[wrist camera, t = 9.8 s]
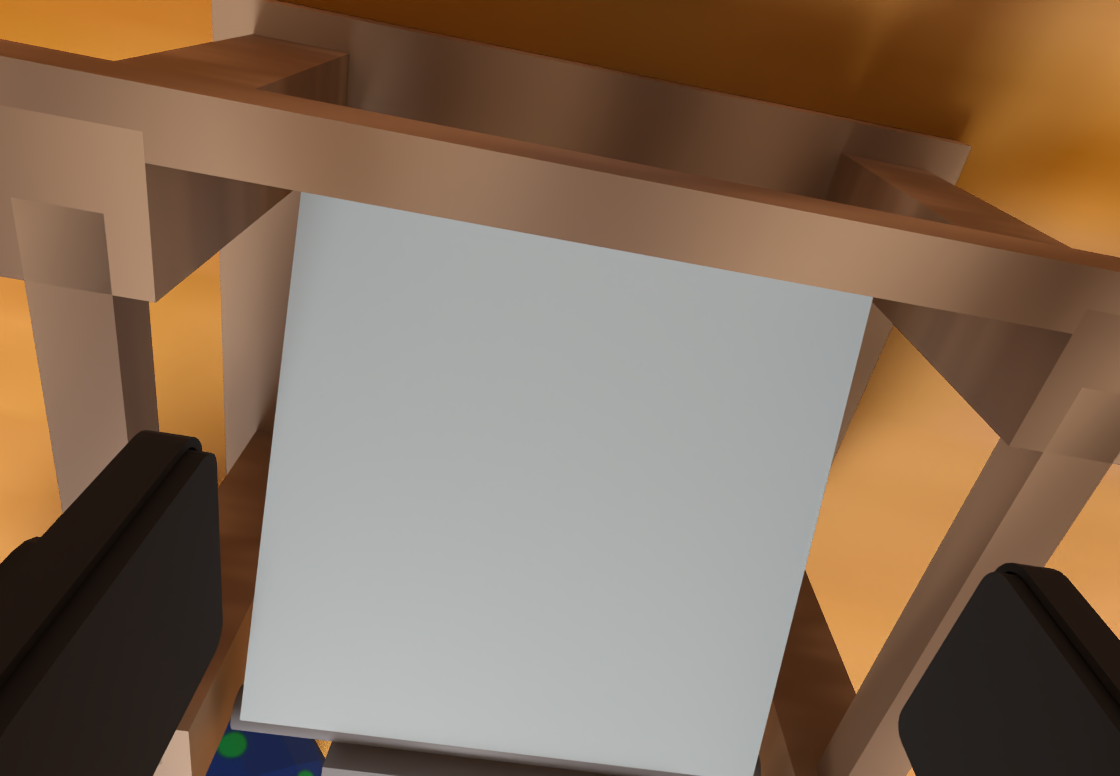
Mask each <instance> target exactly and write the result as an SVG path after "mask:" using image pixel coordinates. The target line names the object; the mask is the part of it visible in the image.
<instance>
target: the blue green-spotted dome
mask: <svg viewBox="0 0 1120 776" xmlns="http://www.w3.org/2000/svg"><path fill="white" fill-rule="evenodd" d="M230 722H231V719H230V721H229V723H228V725H227V728H226V730H225V732H224V735H223V737H222V739H221V741H220V744H219V746H218V748H217V750H216V753H215V755H214V757H213V759H212V762H211V764H210V766H209V768H208V771H207V773H206V775H205V776H321V775H322V767H323V765H324V762H325V758H324V756H323V754H322V752H321V750H320V748H319V747H318V745H317V743H316V741H315V739H309V738H301V737H292V736H284V735H276V734H267V733H259V732H251V731H242V730H234V729H231V725H230Z"/></svg>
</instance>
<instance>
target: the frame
mask: <svg viewBox="0 0 1120 776" xmlns="http://www.w3.org/2000/svg"><path fill="white" fill-rule="evenodd" d="M212 25H213V42H209V43H204V44H199V45H194V46H189V47H184V48H179V49H174V50H169V51H164V52H159V53H154V54H149V55H144V56H139V57H133V58H128V59H123V60H118V61H110V60H105V59H100V58H94V57H89V56H84V55H79V54H74V53H69V52H64V51H59V50H54V49H48V48H43V47H38V46H33V45H28V44H23V43H18V42H13V41H7V40H2V39H0V276H1V277H7V278H13V279H19V280H24V281H25V287H26V293H27V299H28V305H29V311H30V317H31V323H32V330H33V336H34V342H35V348H36V354H37V360H38V366H39V372H40V378H41V384H42V390H43V396H44V402H45V408H46V414H47V420H48V426H49V432H50V438H51V445H52V451H53V457H54V463H55V469H56V475H57V481H58V487H59V493H60V499H61V505H62V511H63V513H64V512H65V511H66V510H67V508H68V507H69V506H70V505H71V504H72V503H73V502H74V501H75V500H76V499H77V498H78V497H79V495H80V494H81V493H82V492H83V491H84V490H85V489H86V488H87V487H88V486H89V485H90V484H91V482H92V481H93V480H94V479H95V478H96V477H97V476H98V475H99V474H100V473H101V472H102V470H103V469H104V468H105V467H106V466H107V465H108V464H109V463H110V462H111V461H112V460H113V459H114V457H115V456H116V455H117V454H118V453H119V452H120V451H121V450H122V449H123V448H124V447H125V445H126V444H127V443H128V442H129V441H130V440H131V439H132V438H133V437H134V436H135V435H136V434H137V433H139V432H140V431H143V430H150V431H157V432H159V423H158V411H157V399H156V387H155V374H154V362H153V350H152V337H151V325H150V313H149V302H155V303H156V302H157V301H158V300H159V299H160V298H162V297H163V296H164V295H165V294H167V293H168V292H169V291H170V290H172V289H173V288H174V287H175V286H176V285H178V284H179V283H180V282H181V281H183V280H184V279H185V278H186V277H188V276H189V275H190V274H191V273H192V272H194V271H195V270H196V269H197V268H199V267H200V266H201V265H202V264H204V263H205V262H206V261H207V260H208V259H210V258H211V257H212V256H213V255H215V254H216V253H217V252H218V251H219V250H220V282H221V314H222V346H223V378H224V410H225V442H226V474H227V476H226V477H225V479H224V480H223V482H222V483H221V485H220V486H219V488H218V505H219V531H220V557H221V583H222V609H223V627H222V633H221V637H220V641H219V644H218V647H217V650H216V652H215V654H214V656H213V658H212V660H211V662H210V664H209V666H208V668H207V670H206V672H205V674H204V676H203V678H202V680H201V682H200V684H199V686H198V688H197V690H196V692H195V694H194V696H193V698H192V700H191V702H190V704H189V706H188V708H187V710H186V712H185V713H184V715H183V717H182V719H181V721H180V723H179V725H178V727H177V729H176V731H175V733H174V735H173V737H172V739H171V741H170V743H169V745H168V747H167V749H166V751H165V753H164V755H163V757H162V759H161V761H160V763H159V765H158V767H157V769H156V771H155V773H154V775H153V776H205V775H206V773H207V771H208V768H209V766H210V764H211V762H212V759H213V757H214V755H215V753H216V750H217V748H218V746H219V744H220V741H221V739H222V737H223V735H224V732H225V730H226V728H227V725H228V723H229V721H230V719H231V714H232V709H233V705H234V702H235V699H236V696H237V693H238V691H239V689H240V687H241V686H242V684H243V683H244V680H245V671H246V663H247V654H248V645H249V637H250V628H251V620H252V611H253V602H254V594H255V585H256V576H257V568H258V559H259V551H260V542H261V533H262V525H263V516H264V507H265V499H266V490H267V482H268V473H269V464H270V456H271V447H272V438H273V430H274V421H275V413H276V404H277V395H278V387H279V378H280V369H281V361H282V352H283V344H284V335H285V326H286V318H287V309H288V300H289V292H290V283H291V275H292V266H293V257H294V249H295V240H296V231H297V223H298V214H299V206H300V197H301V192H305V193H311V194H316V195H321V196H327V197H332V198H338V199H343V200H349V201H354V202H359V203H365V204H370V205H376V206H381V207H387V208H392V209H397V210H403V211H408V212H414V213H419V214H425V215H430V216H435V217H441V218H446V219H452V220H457V221H463V222H468V223H473V224H479V225H484V226H490V227H495V228H500V229H506V230H511V231H517V232H522V233H528V234H533V235H538V236H544V237H549V238H555V239H560V240H566V241H571V242H576V243H582V244H587V245H593V246H598V247H604V248H609V249H614V250H620V251H625V252H631V253H636V254H642V255H647V256H652V257H658V258H663V259H669V260H674V261H680V262H685V263H690V264H696V265H701V266H707V267H712V268H718V269H723V270H728V271H734V272H739V273H745V274H750V275H756V276H761V277H766V278H772V279H777V280H783V281H788V282H794V283H799V284H804V285H810V286H815V287H821V288H826V289H832V290H837V291H842V292H848V293H853V294H859V295H864V296H870V297H873V300H872V304H871V308H870V312H869V316H868V320H867V324H866V328H865V332H864V336H863V340H862V344H861V348H860V352H859V356H858V360H857V364H856V368H855V371H854V375H853V379H852V383H851V387H850V391H849V395H848V399H847V403H846V407H845V411H844V415H843V419H842V423H841V427H840V431H839V435H838V439H837V443H836V447H835V451H834V455H833V459H832V463H833V460H834V458H835V456H836V454H837V451H838V449H839V447H840V444H841V442H842V440H843V438H844V435H845V433H846V431H847V429H848V426H849V424H850V422H851V420H852V417H853V415H854V413H855V411H856V408H857V406H858V404H859V402H860V399H861V397H862V395H863V392H864V390H865V388H866V386H867V383H868V381H869V379H870V377H871V374H872V372H873V370H874V368H875V365H876V363H877V361H878V359H879V356H880V354H881V352H882V349H883V347H884V345H885V343H886V340H887V338H888V336H889V334H890V331H891V329H892V327H893V325H894V326H895V327H896V328H897V329H898V330H899V331H900V332H901V333H902V334H903V335H904V336H905V337H906V338H907V339H908V340H909V341H910V342H911V344H912V345H913V346H914V347H915V348H916V349H917V350H918V351H919V352H920V353H921V354H922V355H923V356H924V357H925V358H926V359H927V360H928V361H929V362H930V364H931V365H932V366H933V367H934V368H935V369H936V370H937V371H938V372H939V373H940V374H941V375H942V376H943V377H944V378H945V379H946V380H947V381H948V383H949V384H950V385H951V386H952V387H953V388H954V389H955V390H956V391H957V392H958V393H959V394H960V395H961V396H962V397H963V398H964V399H965V400H966V401H967V403H968V404H969V405H970V406H971V407H972V408H973V409H974V410H975V411H976V412H977V413H978V414H979V415H980V416H981V417H982V418H983V419H984V420H985V422H986V423H987V424H988V425H989V426H990V427H991V428H992V429H993V430H994V431H995V432H996V433H997V434H998V435H999V436H1000V437H1001V438H1000V440H999V441H998V443H997V445H996V447H995V448H994V450H993V452H992V454H991V456H990V457H989V459H988V461H987V463H986V464H985V466H984V468H983V470H982V472H981V473H980V475H979V477H978V479H977V480H976V482H975V484H974V486H973V488H972V489H971V491H970V493H969V495H968V496H967V498H966V500H965V502H964V504H963V505H962V507H961V509H960V511H959V512H958V514H957V516H956V518H955V520H954V521H953V523H952V525H951V527H950V528H949V530H948V532H947V534H946V536H945V537H944V539H943V541H942V543H941V544H940V546H939V548H938V550H937V552H936V553H935V555H934V557H933V559H932V560H931V562H930V564H929V566H928V568H927V569H926V571H925V573H924V575H923V576H922V578H921V580H920V582H919V584H918V585H917V587H916V589H915V591H914V592H913V594H912V596H911V598H910V600H909V601H908V603H907V605H906V607H905V608H904V610H903V612H902V614H901V616H900V617H899V619H898V621H897V623H896V624H895V626H894V628H893V630H892V632H891V633H890V635H889V637H888V639H887V640H886V642H885V644H884V646H883V648H882V649H881V651H880V653H879V655H878V657H877V658H876V660H875V662H874V664H873V665H872V667H871V669H870V671H869V673H868V674H867V676H866V678H865V680H864V681H863V683H862V685H861V687H860V689H859V690H858V692H857V694H856V693H855V691H854V688H853V686H852V684H851V681H850V679H849V676H848V674H847V671H846V669H845V666H844V664H843V662H842V659H841V657H840V654H839V652H838V649H837V647H836V644H835V642H834V640H833V637H832V635H831V632H830V630H829V627H828V625H827V623H826V620H825V618H824V615H823V613H822V610H821V608H820V605H819V603H818V601H817V598H816V596H815V593H814V591H813V588H812V586H811V584H810V581H809V579H808V576H807V574H806V571H804V575H803V579H802V583H801V587H800V591H799V595H798V599H797V603H796V607H795V611H794V615H793V619H792V623H791V627H790V631H789V635H788V639H787V643H786V647H785V651H784V655H783V659H782V663H781V667H780V671H779V675H778V679H777V683H776V687H775V691H774V695H773V699H772V703H771V707H770V711H769V715H768V719H767V723H766V727H765V731H764V735H763V738H762V742H761V746H760V750H759V756H760V762H761V776H906V775H907V773H908V772H909V770H910V769H911V767H912V766H911V763H910V761H909V759H908V757H907V754H906V752H905V750H904V748H903V745H902V743H901V740H900V737H899V731H898V721H899V715H900V713H901V710H902V708H903V707H904V705H905V704H906V702H907V700H908V699H909V697H910V695H911V694H912V692H913V691H914V689H915V687H916V686H917V684H918V682H919V681H920V679H921V678H922V676H923V674H924V673H925V671H926V669H927V668H928V666H929V664H930V663H931V661H932V660H933V658H934V656H935V655H936V653H937V651H938V650H939V648H940V647H941V645H942V643H943V642H944V640H945V638H946V637H947V635H948V634H949V632H950V630H951V629H952V627H953V625H954V624H955V622H956V621H957V619H958V617H959V616H960V614H961V612H962V611H963V609H964V608H965V606H966V604H967V603H968V601H969V599H970V598H971V596H972V595H973V593H974V591H975V590H976V588H977V586H978V585H979V583H980V582H981V580H982V579H983V578H984V576H985V575H987V574H988V573H990V572H994V571H995V570H996V569H997V568H998V567H999V566H1001V565H1003V564H1005V563H1018V564H1025V565H1031V566H1038V567H1044V566H1045V564H1046V563H1047V561H1048V560H1049V558H1050V557H1051V555H1052V554H1053V552H1054V551H1055V549H1056V548H1057V546H1058V545H1059V543H1060V542H1061V540H1062V539H1063V537H1064V536H1065V534H1066V533H1067V531H1068V530H1069V528H1070V527H1071V525H1072V524H1073V522H1074V521H1075V519H1076V518H1077V516H1078V515H1079V513H1080V512H1081V510H1082V508H1083V507H1084V505H1085V504H1086V502H1087V501H1088V499H1089V498H1090V496H1091V495H1092V493H1093V492H1094V490H1095V489H1096V487H1097V486H1098V484H1099V483H1100V481H1101V480H1102V478H1103V477H1104V475H1105V474H1106V472H1107V471H1108V469H1109V468H1110V466H1111V465H1112V464H1118V465H1120V258H1118V257H1113V256H1108V255H1103V254H1098V253H1093V252H1087V251H1082V250H1077V249H1072V248H1070V247H1068V246H1066V245H1064V244H1063V243H1061V242H1059V241H1057V240H1055V239H1053V238H1051V237H1050V236H1048V235H1046V234H1044V233H1042V232H1040V231H1038V230H1037V229H1035V228H1033V227H1031V226H1029V225H1027V224H1025V223H1024V222H1022V221H1020V220H1018V219H1016V218H1014V217H1012V216H1011V215H1009V214H1007V213H1005V212H1003V211H1001V210H999V209H998V208H996V207H994V206H992V205H990V204H988V203H986V202H985V201H983V200H981V199H979V198H977V197H975V196H973V195H972V194H970V193H968V192H966V191H964V190H962V189H960V188H958V187H957V186H955V184H956V182H957V180H958V178H959V175H960V173H961V171H962V168H963V166H964V164H965V162H966V159H967V157H968V155H969V153H970V150H971V148H972V147H971V146H969V145H967V144H964V143H962V142H960V141H956V140H951V139H946V138H942V137H937V136H932V135H927V134H922V133H917V132H912V131H908V130H903V129H898V128H893V127H888V126H883V125H879V124H874V123H869V122H864V121H859V120H854V119H849V118H845V117H840V116H835V115H830V114H825V113H820V112H816V111H811V110H806V109H801V108H796V107H791V106H786V105H782V104H777V103H772V102H767V101H762V100H757V99H752V98H748V97H743V96H738V95H733V94H728V93H723V92H719V91H714V90H709V89H704V88H699V87H694V86H689V85H685V84H680V83H675V82H670V81H665V80H660V79H656V78H651V77H646V76H641V75H636V74H631V73H626V72H622V71H617V70H612V69H607V68H602V67H597V66H593V65H588V64H583V63H578V62H573V61H568V60H563V59H559V58H554V57H549V56H544V55H539V54H534V53H530V52H525V51H520V50H515V49H510V48H505V47H500V46H496V45H491V44H486V43H481V42H476V41H471V40H467V39H462V38H457V37H452V36H447V35H442V34H437V33H433V32H428V31H423V30H418V29H413V28H408V27H404V26H399V25H394V24H389V23H384V22H379V21H374V20H370V19H365V18H360V17H355V16H350V15H345V14H340V13H336V12H331V11H326V10H321V9H316V8H311V7H307V6H302V5H297V4H292V3H287V2H282V1H277V0H212ZM832 463H831V465H832Z"/></svg>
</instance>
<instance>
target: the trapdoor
mask: <svg viewBox="0 0 1120 776" xmlns="http://www.w3.org/2000/svg"><path fill="white" fill-rule="evenodd" d="M872 300H873V297H870V296H864V295H859V294H853V293H848V292H842V291H837V290H832V289H826V288H821V287H815V286H810V285H804V284H799V283H794V282H788V281H783V280H777V279H772V278H766V277H761V276H756V275H750V274H745V273H739V272H734V271H728V270H723V269H718V268H712V267H707V266H701V265H696V264H690V263H685V262H680V261H674V260H669V259H663V258H658V257H652V256H647V255H642V254H636V253H631V252H625V251H620V250H614V249H609V248H604V247H598V246H593V245H587V244H582V243H576V242H571V241H566V240H560V239H555V238H549V237H544V236H538V235H533V234H528V233H522V232H517V231H511V230H506V229H500V228H495V227H490V226H484V225H479V224H473V223H468V222H463V221H457V220H452V219H446V218H441V217H435V216H430V215H425V214H419V213H414V212H408V211H403V210H397V209H392V208H387V207H381V206H376V205H370V204H365V203H359V202H354V201H349V200H343V199H338V198H332V197H327V196H321V195H316V194H311V193H305V192H301V197H300V206H299V214H298V223H297V231H296V240H295V249H294V257H293V266H292V275H291V283H290V292H289V300H288V309H287V318H286V326H285V335H284V344H283V352H282V361H281V369H280V378H279V387H278V395H277V404H276V413H275V421H274V430H273V438H272V447H271V456H270V464H269V473H268V482H267V490H266V499H265V507H264V516H263V525H262V533H261V542H260V551H259V559H258V568H257V576H256V585H255V594H254V602H253V611H252V620H251V628H250V637H249V645H248V654H247V663H246V671H245V680H244V683H243V684H242V686H241V687H240V689H239V691H238V693H237V696H236V699H235V702H234V705H233V709H232V714H231V722H230V725H231V729H234V730H242V731H251V732H259V733H267V734H276V735H284V736H292V737H301V738H309V739H317V740H326V741H332V743H331V746H330V748H329V751H328V754H327V756H326V759H325V762H324V765H323V767H322V775H321V776H761V762H760V756H759V750H760V746H761V742H762V738H763V735H764V731H765V727H766V723H767V719H768V715H769V711H770V707H771V703H772V699H773V695H774V691H775V687H776V683H777V679H778V675H779V671H780V667H781V663H782V659H783V655H784V651H785V647H786V643H787V639H788V635H789V631H790V627H791V623H792V619H793V615H794V611H795V607H796V603H797V599H798V595H799V591H800V587H801V583H802V579H803V575H804V571H805V567H806V563H807V559H808V555H809V551H810V547H811V543H812V539H813V535H814V531H815V527H816V523H817V519H818V515H819V511H820V507H821V503H822V499H823V495H824V491H825V487H826V483H827V479H828V475H829V471H830V467H831V463H832V459H833V455H834V451H835V447H836V443H837V439H838V435H839V431H840V427H841V423H842V419H843V415H844V411H845V407H846V403H847V399H848V395H849V391H850V387H851V383H852V379H853V375H854V371H855V368H856V364H857V360H858V356H859V352H860V348H861V344H862V340H863V336H864V332H865V328H866V324H867V320H868V316H869V312H870V308H871V304H872Z"/></svg>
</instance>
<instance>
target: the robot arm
mask: <svg viewBox="0 0 1120 776" xmlns="http://www.w3.org/2000/svg"><path fill="white" fill-rule="evenodd" d="M222 627H223V609H222V583H221V557H220V531H219V505H218V479H217V462H216V457H215V455H214V454H212V453H208V452H202V445H201V443H200V441H199V439H197V438H195V437H189V436H183V435H176V434H170V433H163V432H157V431H150V430H143V431H140V432H139V433H137V434H136V435H135V436H134V437H133V438H132V439H131V440H130V441H129V442H128V443H127V444H126V445H125V447H124V448H123V449H122V450H121V451H120V452H119V453H118V454H117V455H116V456H115V457H114V459H113V460H112V461H111V462H110V463H109V464H108V465H107V466H106V467H105V468H104V469H103V470H102V472H101V473H100V474H99V475H98V476H97V477H96V478H95V479H94V480H93V481H92V482H91V484H90V485H89V486H88V487H87V488H86V489H85V490H84V491H83V492H82V493H81V494H80V495H79V497H78V498H77V499H76V500H75V501H74V502H73V503H72V504H71V505H70V506H69V507H68V508H67V510H66V511H65V512H64V513H63V514H62V515H61V516H60V517H59V518H58V519H57V520H56V522H55V523H54V524H53V525H52V526H51V527H50V528H49V529H48V530H47V531H46V532H45V533H44V535H43V536H42V537H34V538H32V539H29V540H27V541H24V542H23V543H22V544H21V545H20V546H18V547H17V548H16V549H15V550H14V551H12V552H11V553H10V554H9V555H8V557H7V558H6V559H5V560H4V561H3V562H2V563H1V564H0V776H153V775H154V773H155V771H156V769H157V767H158V765H159V763H160V761H161V759H162V757H163V755H164V753H165V751H166V749H167V747H168V745H169V743H170V741H171V739H172V737H173V735H174V733H175V731H176V729H177V727H178V725H179V723H180V721H181V719H182V717H183V715H184V713H185V712H186V710H187V708H188V706H189V704H190V702H191V700H192V698H193V696H194V694H195V692H196V690H197V688H198V686H199V684H200V682H201V680H202V678H203V676H204V674H205V672H206V670H207V668H208V666H209V664H210V662H211V660H212V658H213V656H214V654H215V652H216V650H217V647H218V644H219V641H220V637H221V633H222ZM898 731H899V737H900V740H901V743H902V745H903V748H904V750H905V752H906V754H907V757H908V759H909V761H910V763H911V766H912V768H913V770H914V772H915V775H916V776H1120V640H1119V639H1118V638H1117V637H1116V635H1115V634H1114V633H1113V632H1112V631H1111V629H1110V628H1109V627H1108V626H1107V625H1106V623H1105V622H1104V621H1103V620H1102V619H1101V617H1100V616H1099V615H1098V614H1097V613H1096V612H1095V610H1094V609H1093V608H1092V607H1091V606H1090V604H1089V603H1088V602H1087V601H1086V600H1085V598H1084V597H1083V596H1082V595H1081V594H1080V592H1079V591H1078V590H1077V589H1076V588H1075V586H1074V585H1073V584H1072V583H1071V582H1070V581H1069V579H1068V578H1067V577H1066V576H1065V575H1063V574H1062V573H1061V572H1060V571H1057V570H1054V569H1051V568H1044V567H1038V566H1031V565H1025V564H1018V563H1005V564H1003V565H1001V566H999V567H998V568H997V569H996V570H995V571H994V572H990V573H988V574H987V575H985V576H984V578H983V579H982V580H981V582H980V583H979V585H978V586H977V588H976V590H975V591H974V593H973V595H972V596H971V598H970V599H969V601H968V603H967V604H966V606H965V608H964V609H963V611H962V612H961V614H960V616H959V617H958V619H957V621H956V622H955V624H954V625H953V627H952V629H951V630H950V632H949V634H948V635H947V637H946V638H945V640H944V642H943V643H942V645H941V647H940V648H939V650H938V651H937V653H936V655H935V656H934V658H933V660H932V661H931V663H930V664H929V666H928V668H927V669H926V671H925V673H924V674H923V676H922V678H921V679H920V681H919V682H918V684H917V686H916V687H915V689H914V691H913V692H912V694H911V695H910V697H909V699H908V700H907V702H906V704H905V705H904V707H903V708H902V710H901V713H900V715H899V721H898Z"/></svg>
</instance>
